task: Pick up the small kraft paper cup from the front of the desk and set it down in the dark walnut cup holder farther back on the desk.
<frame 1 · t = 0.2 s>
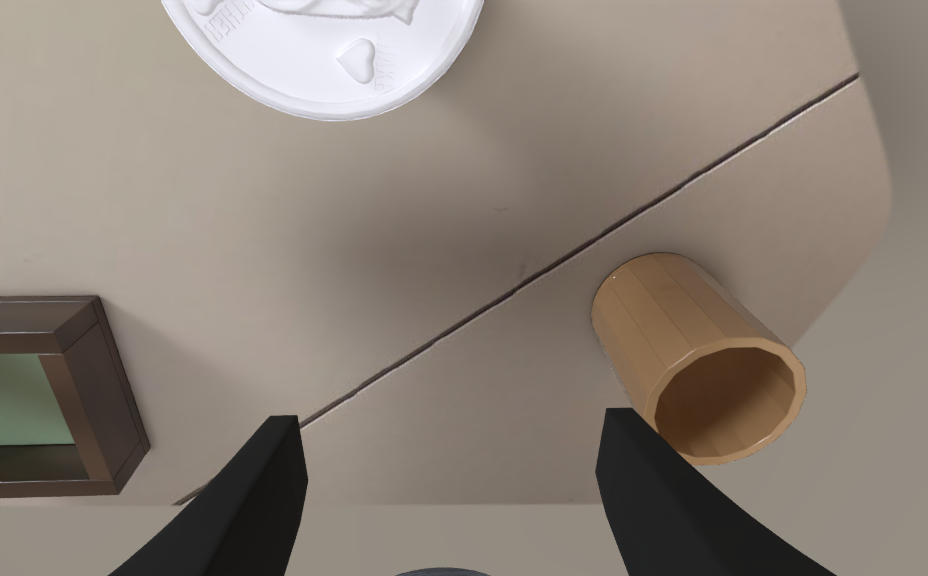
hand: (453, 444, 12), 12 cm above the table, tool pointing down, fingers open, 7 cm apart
cup holder: (29, 379, 24), on the table
paper cup: (650, 307, 24), on the table
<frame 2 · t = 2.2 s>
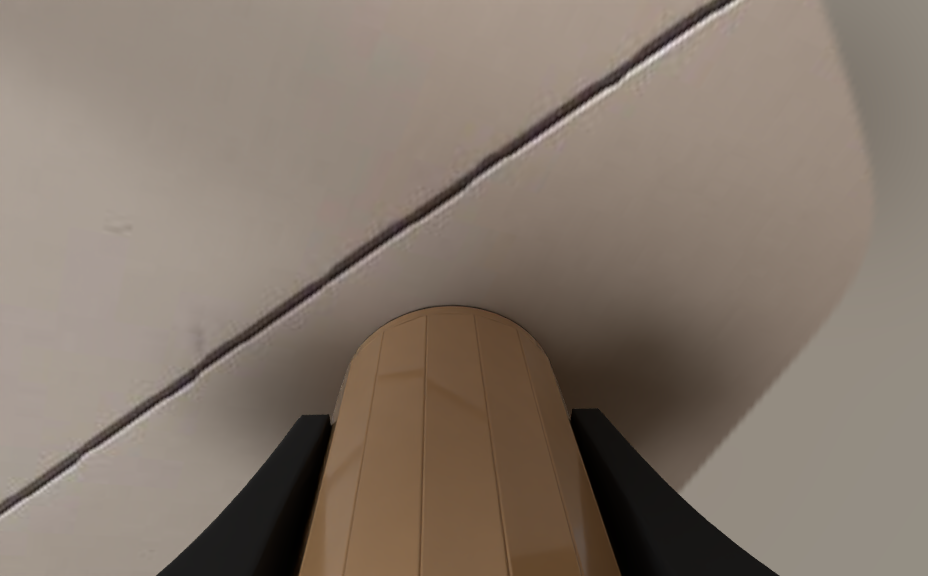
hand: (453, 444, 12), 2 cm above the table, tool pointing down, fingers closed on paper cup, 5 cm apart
paper cup: (450, 397, 14), on the table, touching gripper
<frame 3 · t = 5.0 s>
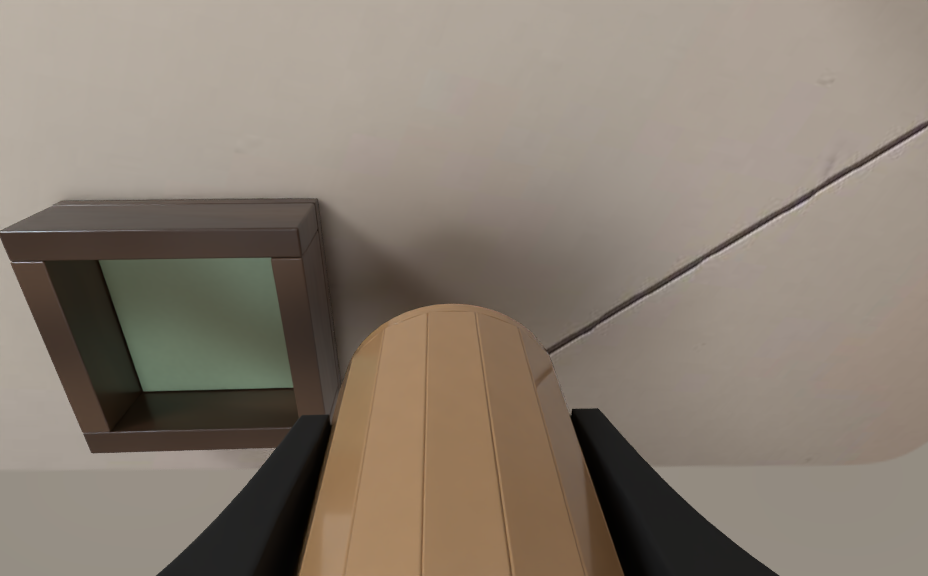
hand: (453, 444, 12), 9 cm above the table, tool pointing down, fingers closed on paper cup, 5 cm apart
cup holder: (217, 309, 20), on the table
paper cup: (450, 395, 14), point 7 cm above the table, touching gripper
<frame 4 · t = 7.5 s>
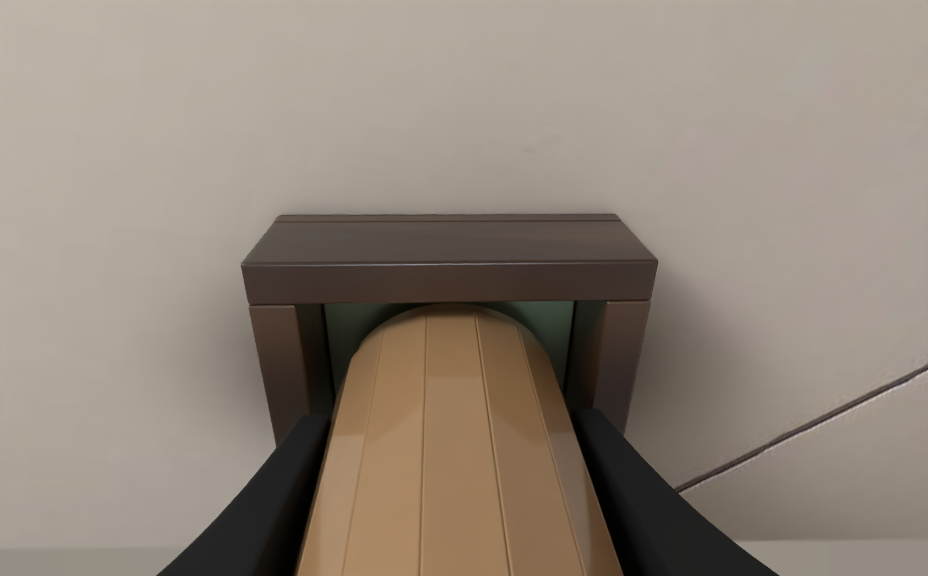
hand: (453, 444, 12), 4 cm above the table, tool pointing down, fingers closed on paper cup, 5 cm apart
cup holder: (449, 355, 16), on the table
paper cup: (450, 395, 14), point 2 cm above the table, touching gripper
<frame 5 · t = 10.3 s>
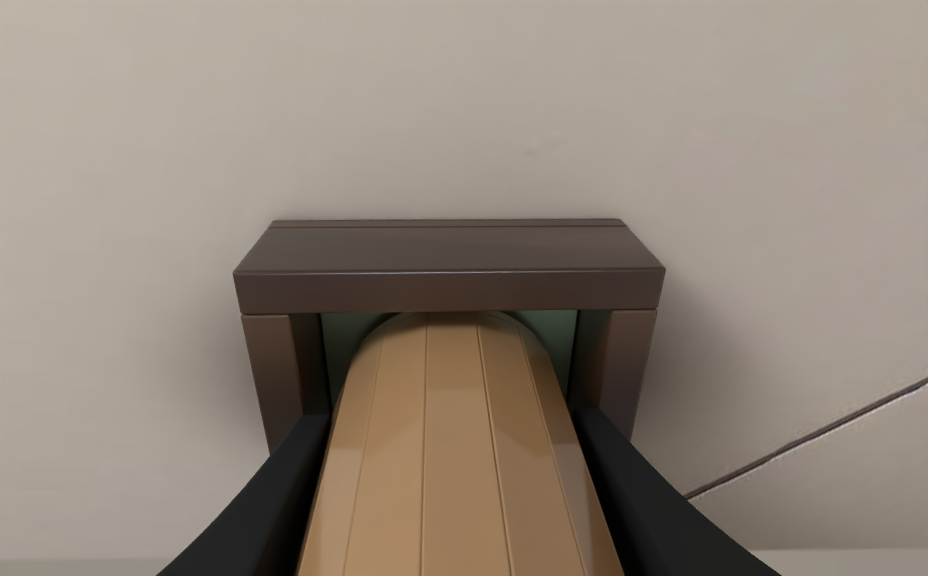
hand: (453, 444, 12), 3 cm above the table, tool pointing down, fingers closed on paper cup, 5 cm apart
cup holder: (449, 363, 15), on the table
paper cup: (450, 395, 14), point 2 cm above the table, touching gripper
when the fingers open (4 cm above the table, at t = 12.8 s): paper cup drops 1 cm, resting on cup holder.
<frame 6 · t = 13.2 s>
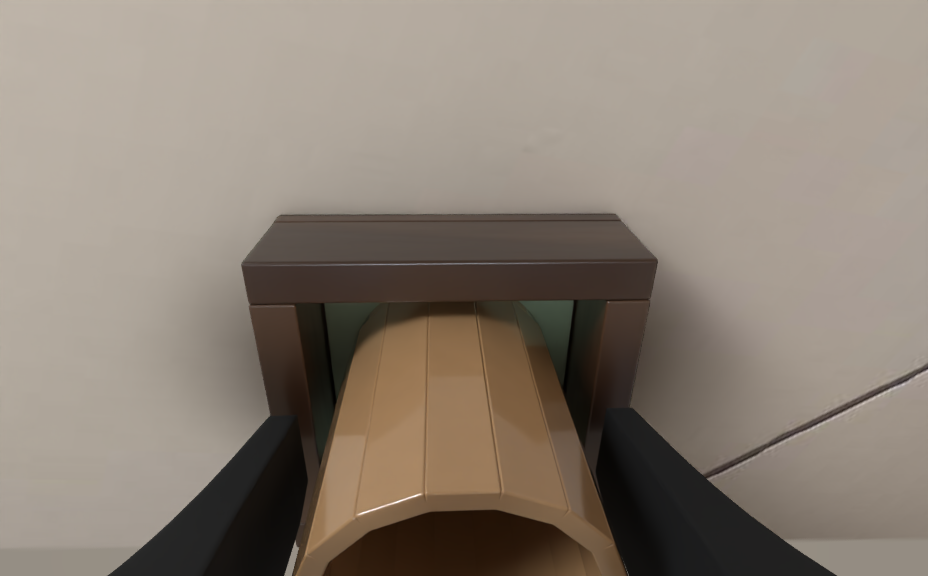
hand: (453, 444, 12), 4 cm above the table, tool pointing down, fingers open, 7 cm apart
cup holder: (449, 354, 16), on the table
paper cup: (450, 366, 15), point 1 cm above the table, touching cup holder
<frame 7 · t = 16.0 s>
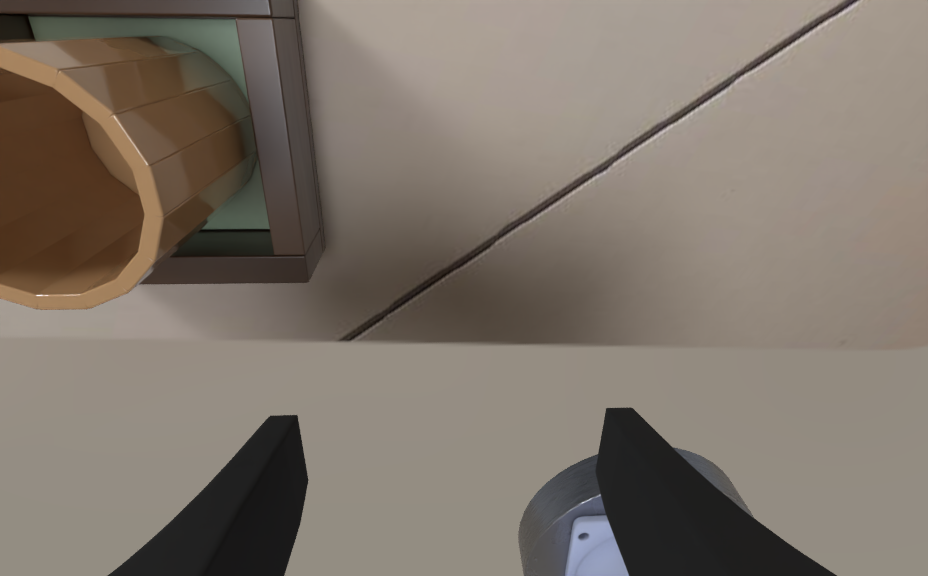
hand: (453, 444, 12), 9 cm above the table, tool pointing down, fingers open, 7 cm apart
cup holder: (180, 129, 18), on the table
paper cup: (170, 130, 17), point 1 cm above the table, touching cup holder
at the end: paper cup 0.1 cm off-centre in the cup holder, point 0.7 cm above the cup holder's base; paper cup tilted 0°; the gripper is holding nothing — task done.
